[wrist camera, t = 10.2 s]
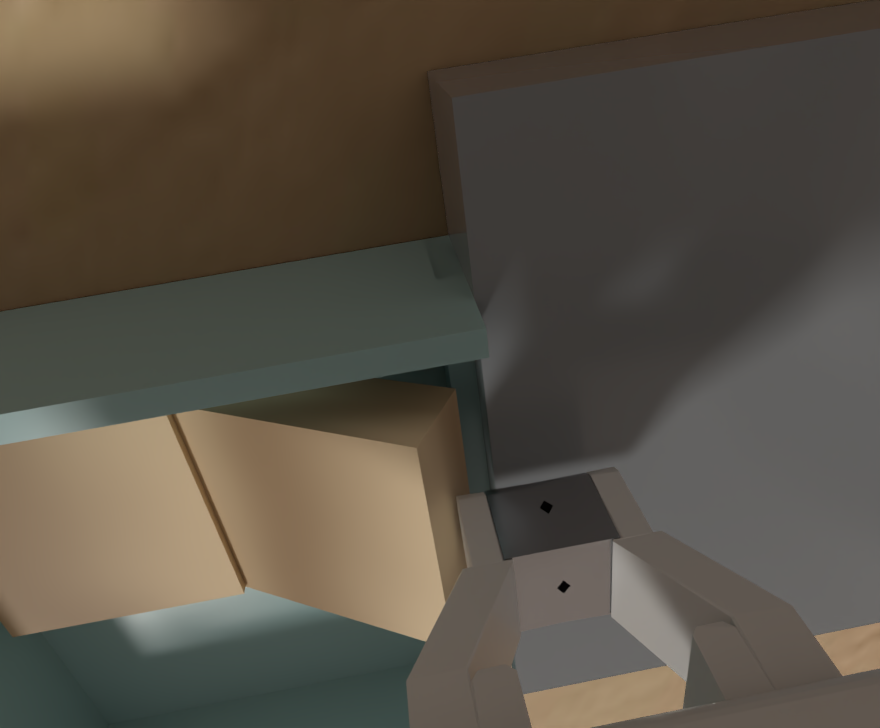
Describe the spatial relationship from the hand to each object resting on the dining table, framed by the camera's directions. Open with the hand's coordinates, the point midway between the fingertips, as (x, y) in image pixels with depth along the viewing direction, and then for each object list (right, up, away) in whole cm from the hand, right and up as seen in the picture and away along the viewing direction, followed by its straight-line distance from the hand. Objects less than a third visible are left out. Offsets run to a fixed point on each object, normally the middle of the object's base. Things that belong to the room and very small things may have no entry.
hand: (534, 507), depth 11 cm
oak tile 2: (-9, -1, +1) cm, 9 cm away
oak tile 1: (-3, 0, +2) cm, 4 cm away
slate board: (+8, +3, +4) cm, 9 cm away
